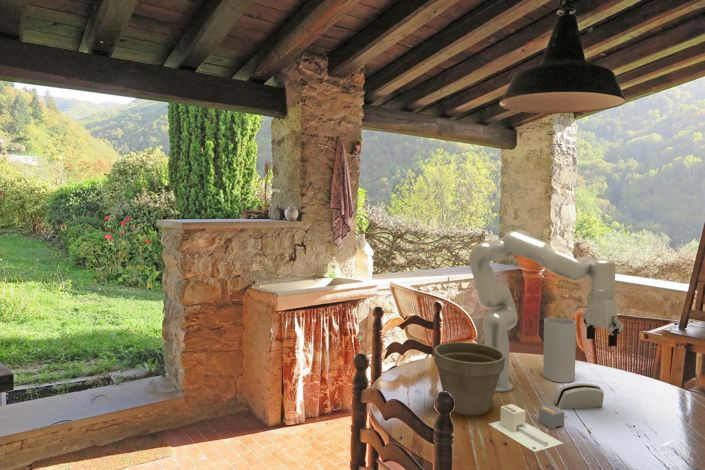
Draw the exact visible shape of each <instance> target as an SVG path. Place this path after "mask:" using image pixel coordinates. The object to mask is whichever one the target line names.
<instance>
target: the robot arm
mask: <svg viewBox="0 0 705 470" xmlns="http://www.w3.org/2000/svg"><path fill="white" fill-rule="evenodd" d="M515 255H518V256H521V257H523V258H526V259H527V260H530V261H532V262H535V263H537V264H539V265H540V266H541V267H543V268H545V269H547V271H550V272H551V273H554V274H556V275H559V276H561V277H563V278H566V279H568V280H572V281H579V280H582V279H585V278H590V289H589V293H590V296H588V299H587V304H586V310H585V312H584V313H581V317H582V320H583V321H582V322H583V323H584V325H585V326H584V327H585V328H586V339H587V340H593V339H595V338H596V327H597V328H600V329H604V330H605V329H607V332H608V333H609V334H608V336H607V337H608V339H607V340H608V341H607V343H608V344H607V345H608V347H609V348H610V347H617V346H618V336H619V335H620V333H622V330H623V329H624V326H625V324H623V322H622V321H620V320H619V319H618V309H617V308H618V306H617V301H616V300H617V299H616V298H615V296H616V293H615V292H616V291H615V290H616V262H615V261H614V260H612V259H608V258H607V259H606V258H605V259H604V258H602V259H601V258H599V259H598V258H597V259H596V258H589V257H584V256H580V257H575V258H573V257H571V256H568V255H566V254H564V253H561V252H559V251H557V250H556V249H553V247H552V246H551V245H550V243H549V242H547V241H544V240H541V239H538V238H536V237H535V236H532V235H531V233H529V232H528V231H526V230H523V229H519V230H510V231H508V232H506V234H505V235H504V237H501V238H498V239H495V240H486V241H482V242H479V243H477V244H476V245H475V246H473V248H472V250H471V252H470V253H469V257H468V263H469V267H470V270H471V274H472V276H473V280H474V285H475V288H476V291H477V295H478V298H479V301H480V303H481V305H482V306H483V307H486V308H493V309H492V311H489V312H488V313H487V314H486V315H485V316H484V318H483V323H482V324H483V333H484V345H487V346H491V347H494V348H496V349H498V350H500V351H502V352H503V353H504V354H505V362H504V369H503V371H502V372H500V376H499V379H498V382H497V386H496V389H495V392H497V393H498V392H499V393H501V392H502V393H503V392H510V391H512V390H513V388H514V387H513V383H511V382H510V381H509V380H510V339H509V335H508V334H509V333H508V331H510V330H512V329H513V328H515V327H516V326H517V324H518V320H519V316H518V312H517V309H516V306H515V303H514V299H513V295H512V293H511V290H510V288H509V287H508V286H507V285H506V284H505V283H503V282H501V281H497V277H496V275H495V272H494V270H493V268H492V266H491V262H495V261H499V260H504V259H506V258H509V257H512V256H515Z"/></svg>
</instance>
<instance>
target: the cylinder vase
mask: <svg viewBox="0 0 705 470" xmlns="http://www.w3.org/2000/svg"><path fill="white" fill-rule="evenodd" d="M576 337H577V321H575V320H573V319H570V318H565V317H563V318H562V317H545V318H544V320H543V355H542V356H543V365H542V366H543V368H542V375H543V377H544V378H545V379H546V380H549V381H551V382H555V383H559V384H561V383H562V384H566V383H567V384H570V383H573V382H574V381H575V379H576V350H577V349H576V346H577V344H576V343H577V342H576V339H577V338H576Z"/></svg>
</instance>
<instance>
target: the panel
mask: <svg viewBox="0 0 705 470" xmlns="http://www.w3.org/2000/svg"><path fill="white" fill-rule="evenodd" d="M488 425H489V426H490V427H492V428H494V429H495V430H497V431H499V432H500V433H502V434H504V435H505V436H507V437H509V438H511V439H512V440H514V441H515V442H517V443H519V444H520V445H522V446H524V447H526V448H527V449H529V450H531V451H532V452H534V453H537V452H539V451H542V450H546V449H550V448H553V447H556V446H559V445H563V444H564V442H562V441H561V440H559V439H556V438H555V437H554V436H551V435H550V434H548V433H545V432H543V431H542V430H540V429H538V428H536V427H535V426H533V425H530V424H529V423H528V422H525V428H523V427H521V426H519V425H518V426H517V430H516V432H513V431H511V430H509V429H508V428H506V427H504V426H503V425H501V424H500V420H499V421H494V422H489V423H488Z"/></svg>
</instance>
